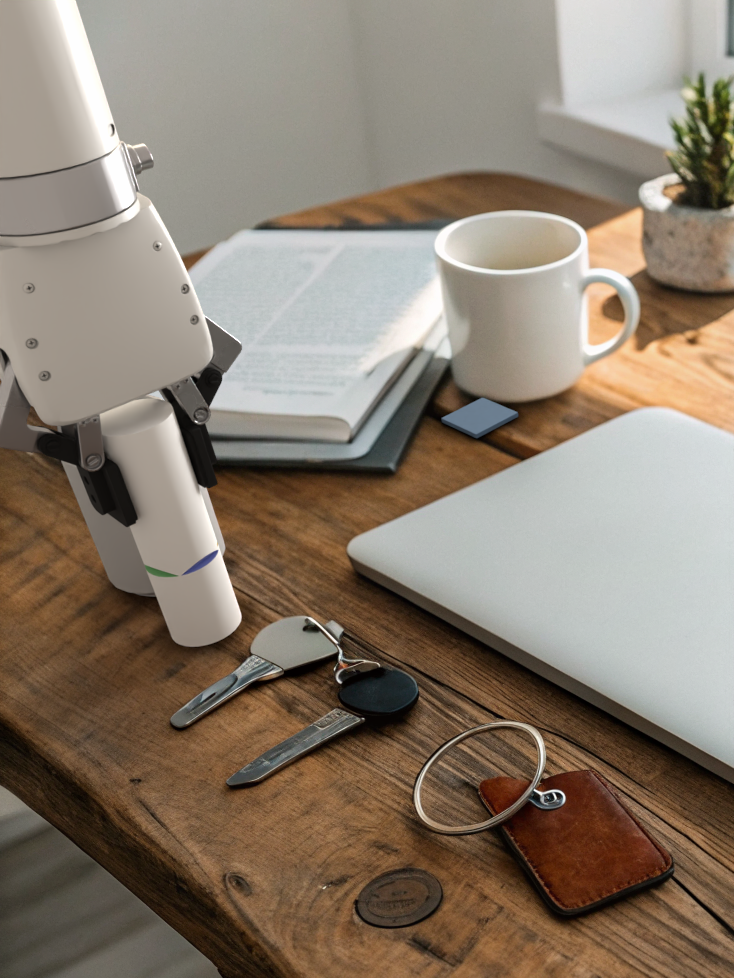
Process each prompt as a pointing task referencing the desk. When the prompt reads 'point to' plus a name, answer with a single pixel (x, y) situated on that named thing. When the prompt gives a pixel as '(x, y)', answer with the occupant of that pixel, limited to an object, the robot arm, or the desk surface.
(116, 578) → the can
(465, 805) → the desk surface
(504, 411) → the tile
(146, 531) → the tube
